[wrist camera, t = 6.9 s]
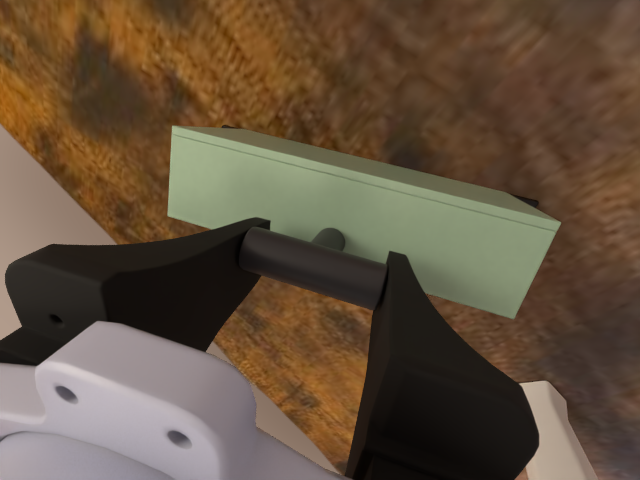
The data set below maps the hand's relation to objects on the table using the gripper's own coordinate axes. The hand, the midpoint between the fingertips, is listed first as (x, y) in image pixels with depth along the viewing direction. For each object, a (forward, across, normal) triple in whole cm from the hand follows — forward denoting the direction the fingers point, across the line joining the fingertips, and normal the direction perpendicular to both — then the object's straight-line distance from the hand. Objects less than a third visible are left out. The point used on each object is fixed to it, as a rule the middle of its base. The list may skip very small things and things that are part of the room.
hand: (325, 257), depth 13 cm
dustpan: (+3, 0, -3) cm, 4 cm away
